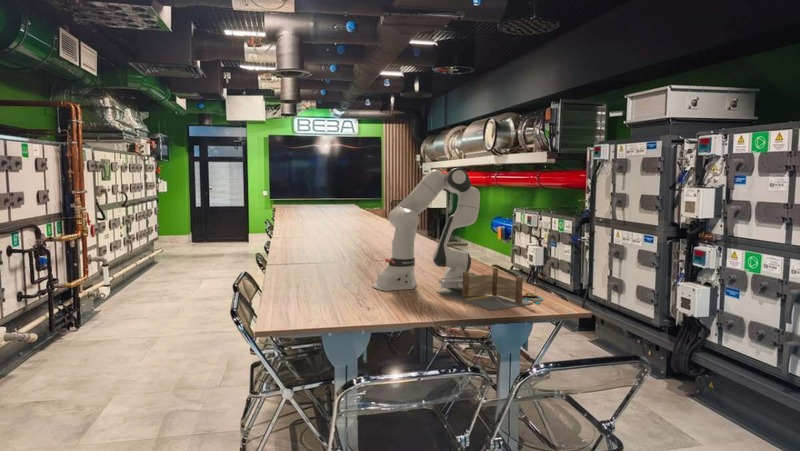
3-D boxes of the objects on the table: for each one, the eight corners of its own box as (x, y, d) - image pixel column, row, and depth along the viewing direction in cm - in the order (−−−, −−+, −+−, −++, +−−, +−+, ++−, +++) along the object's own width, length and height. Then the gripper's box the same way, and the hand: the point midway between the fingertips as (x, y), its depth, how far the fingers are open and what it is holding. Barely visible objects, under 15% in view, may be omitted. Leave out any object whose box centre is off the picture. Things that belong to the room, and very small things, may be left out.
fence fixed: (518, 304, 228) (519, 274, 226) (490, 295, 242) (491, 268, 241) (522, 303, 229) (523, 274, 228) (494, 295, 244) (495, 267, 242)
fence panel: (492, 294, 240) (493, 270, 239) (464, 297, 234) (465, 273, 233) (490, 293, 242) (491, 270, 241) (462, 296, 236) (462, 272, 235)
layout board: (491, 311, 216) (491, 309, 216) (435, 292, 249) (435, 291, 249) (532, 303, 229) (533, 302, 229) (474, 286, 262) (474, 285, 261)
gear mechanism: (525, 305, 228) (547, 305, 228) (526, 293, 228) (547, 293, 228) (515, 294, 248) (534, 294, 248) (515, 283, 248) (535, 283, 248)
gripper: (437, 274, 248) (443, 280, 235) (479, 273, 251) (487, 279, 237) (437, 287, 249) (443, 293, 235) (479, 286, 252) (487, 293, 238)
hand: (466, 286), depth 236 cm, fingers closed, pressing on fence panel
